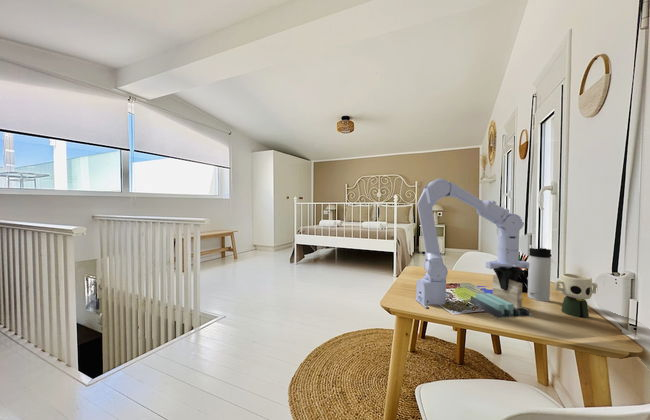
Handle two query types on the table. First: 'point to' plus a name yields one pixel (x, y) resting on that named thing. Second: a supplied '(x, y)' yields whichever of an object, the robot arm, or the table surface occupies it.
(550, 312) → the table surface
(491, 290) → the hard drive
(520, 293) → the birch sheet
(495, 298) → the offcut
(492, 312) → the rack
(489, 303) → the offcut
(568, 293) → the character mug
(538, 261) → the travel mug
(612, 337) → the table surface
